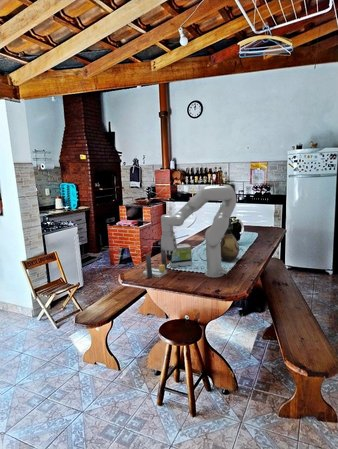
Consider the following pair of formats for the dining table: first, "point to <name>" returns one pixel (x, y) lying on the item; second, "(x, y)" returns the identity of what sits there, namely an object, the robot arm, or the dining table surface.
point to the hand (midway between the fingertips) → (169, 260)
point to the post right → (163, 258)
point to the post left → (149, 266)
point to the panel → (156, 272)
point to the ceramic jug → (229, 246)
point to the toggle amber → (161, 268)
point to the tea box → (181, 256)
